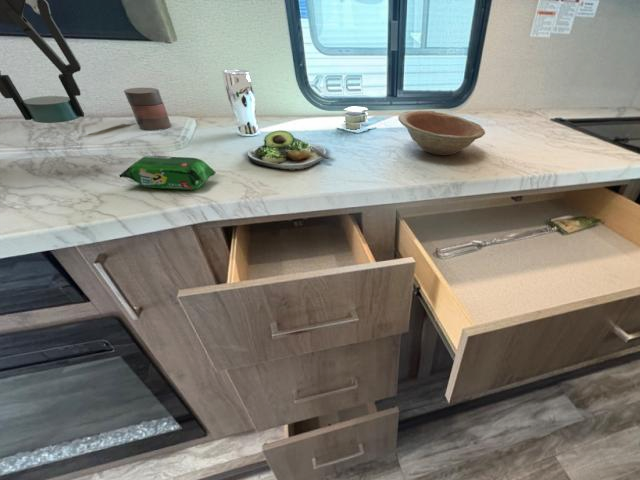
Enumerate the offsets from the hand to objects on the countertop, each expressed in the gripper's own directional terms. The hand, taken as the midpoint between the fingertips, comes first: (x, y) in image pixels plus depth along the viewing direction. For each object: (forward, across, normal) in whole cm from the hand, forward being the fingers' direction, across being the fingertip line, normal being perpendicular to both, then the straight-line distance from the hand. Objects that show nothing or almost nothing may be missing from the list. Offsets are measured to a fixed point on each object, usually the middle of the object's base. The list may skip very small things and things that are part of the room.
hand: (56, 116), depth 63 cm
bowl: (+10, +80, -20) cm, 83 cm away
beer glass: (+11, +38, +16) cm, 42 cm away
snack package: (+11, +14, -15) cm, 23 cm away
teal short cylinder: (0, 0, 0) cm, 0 cm away
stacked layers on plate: (+10, +69, +10) cm, 71 cm away
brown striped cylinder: (+11, +16, +32) cm, 37 cm away
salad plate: (+10, +40, -8) cm, 43 cm away
